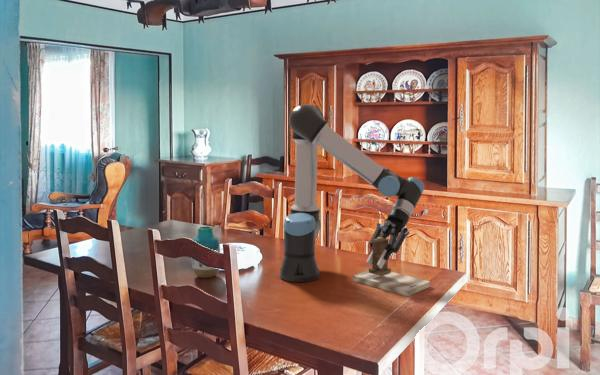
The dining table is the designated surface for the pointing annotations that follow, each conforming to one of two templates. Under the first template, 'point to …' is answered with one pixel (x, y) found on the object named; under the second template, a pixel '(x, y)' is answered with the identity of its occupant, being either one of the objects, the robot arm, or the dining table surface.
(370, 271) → the brown pillar
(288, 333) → the dining table surface
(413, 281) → the board
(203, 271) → the vase
